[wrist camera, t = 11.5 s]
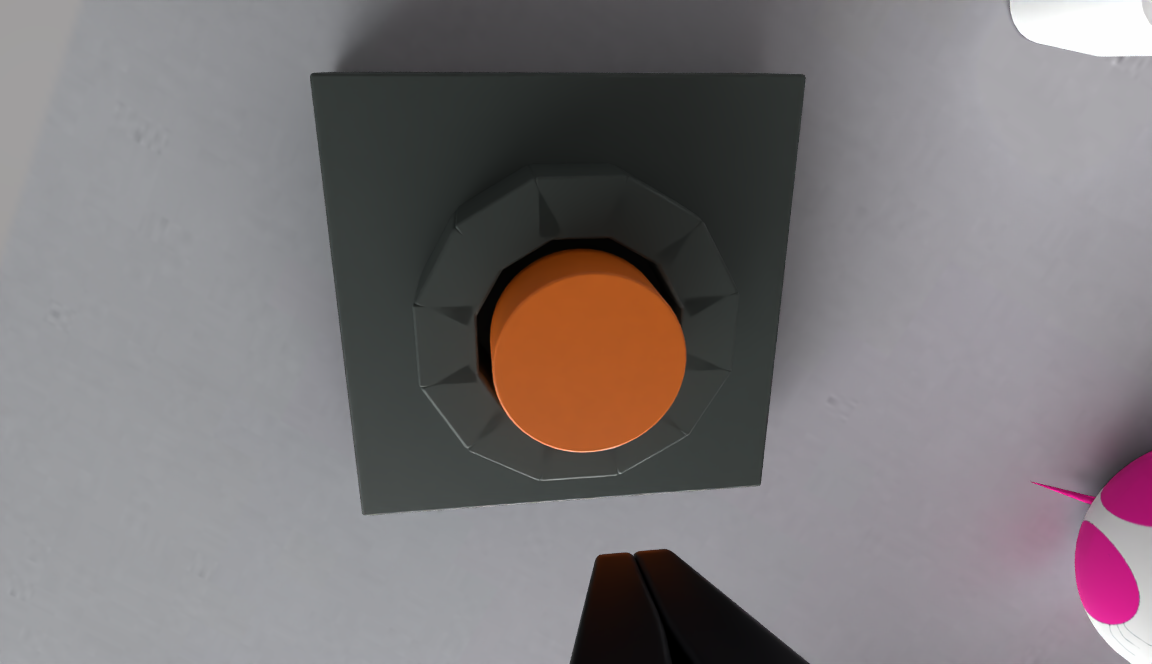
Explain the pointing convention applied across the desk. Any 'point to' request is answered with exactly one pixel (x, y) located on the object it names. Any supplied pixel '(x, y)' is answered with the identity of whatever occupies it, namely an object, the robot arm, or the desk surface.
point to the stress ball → (1119, 560)
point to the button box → (538, 228)
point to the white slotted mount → (1087, 25)
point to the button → (585, 351)
